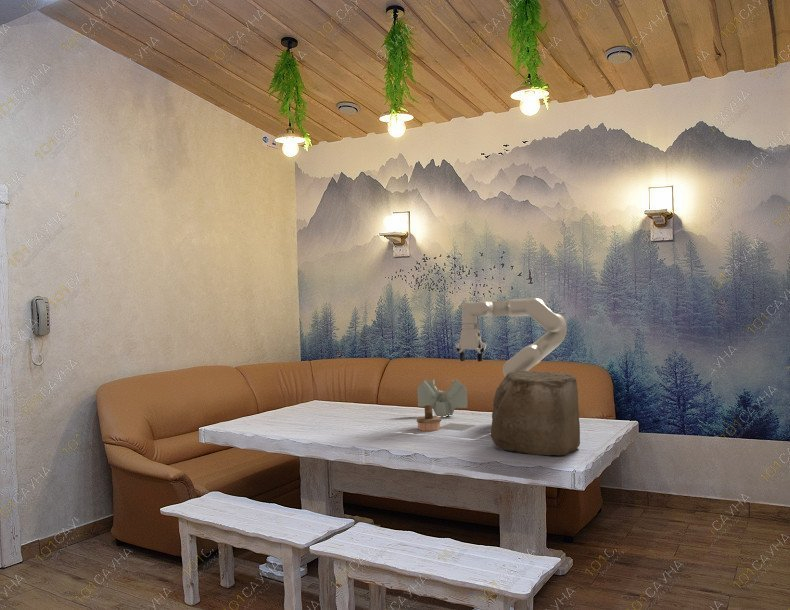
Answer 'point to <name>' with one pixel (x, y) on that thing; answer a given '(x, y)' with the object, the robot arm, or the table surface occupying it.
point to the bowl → (429, 426)
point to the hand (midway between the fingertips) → (471, 361)
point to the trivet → (456, 426)
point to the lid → (428, 416)
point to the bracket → (439, 403)
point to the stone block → (536, 413)
